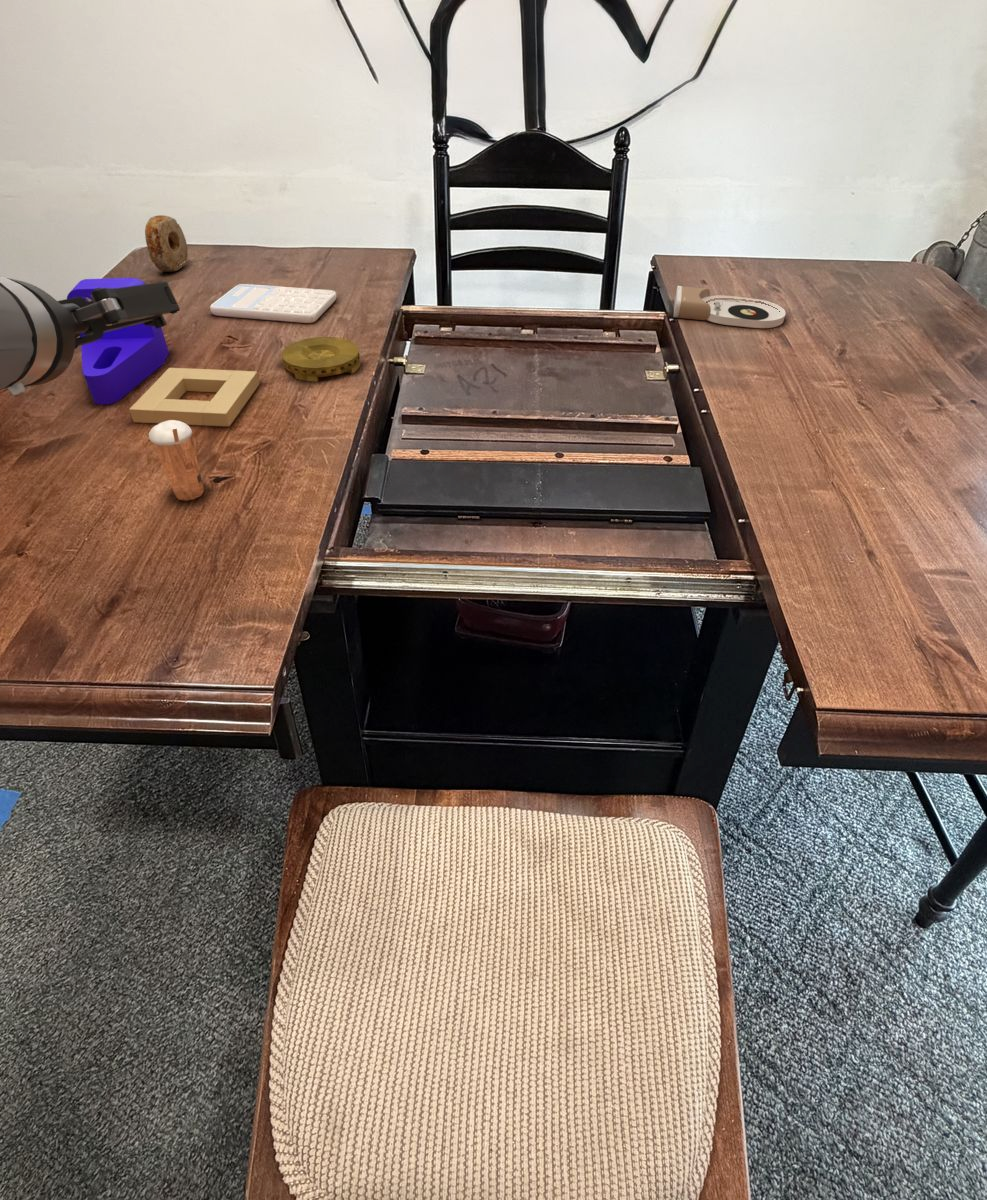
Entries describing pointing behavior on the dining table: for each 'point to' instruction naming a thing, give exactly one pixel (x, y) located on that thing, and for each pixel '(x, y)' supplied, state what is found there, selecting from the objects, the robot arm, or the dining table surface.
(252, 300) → the calculator
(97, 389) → the bracket
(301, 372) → the olive flat round disc
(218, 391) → the square frame
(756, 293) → the dining table surface
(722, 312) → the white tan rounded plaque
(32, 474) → the dining table surface
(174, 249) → the stone disc
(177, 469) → the milkshake
